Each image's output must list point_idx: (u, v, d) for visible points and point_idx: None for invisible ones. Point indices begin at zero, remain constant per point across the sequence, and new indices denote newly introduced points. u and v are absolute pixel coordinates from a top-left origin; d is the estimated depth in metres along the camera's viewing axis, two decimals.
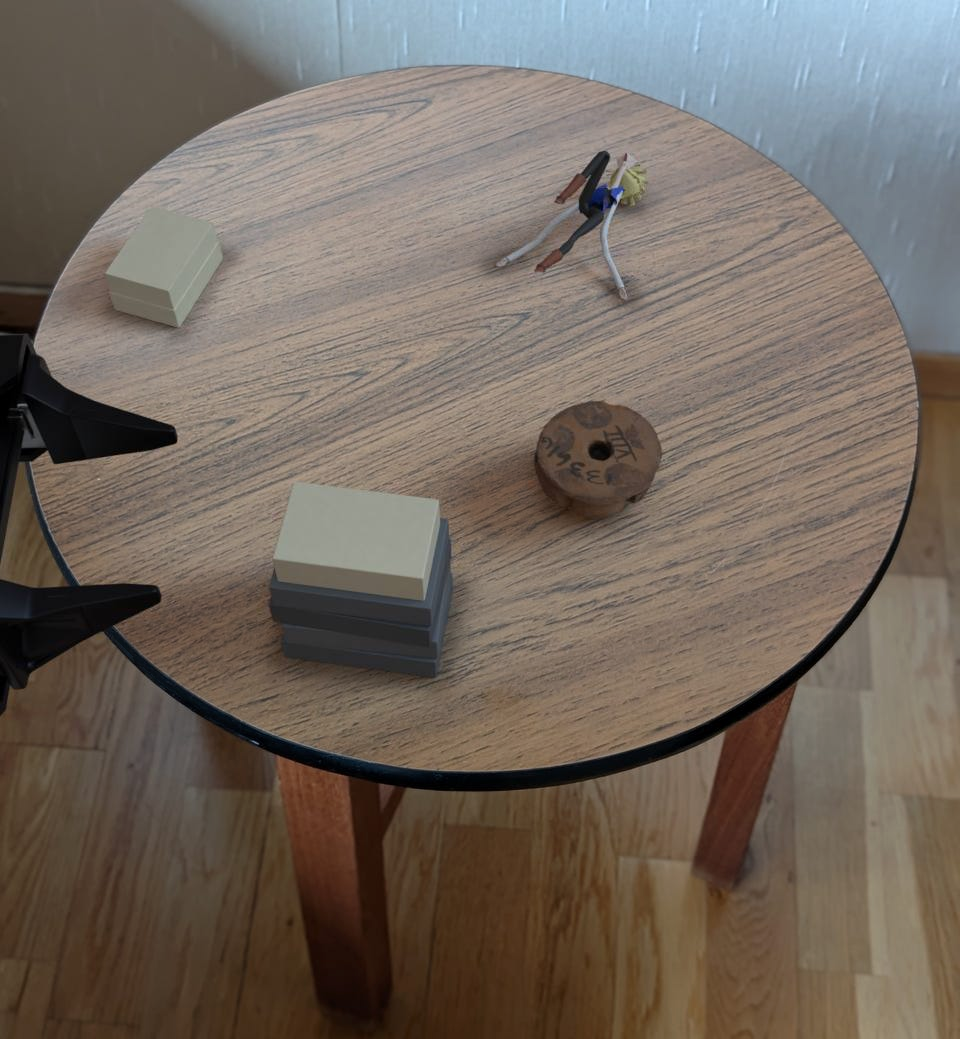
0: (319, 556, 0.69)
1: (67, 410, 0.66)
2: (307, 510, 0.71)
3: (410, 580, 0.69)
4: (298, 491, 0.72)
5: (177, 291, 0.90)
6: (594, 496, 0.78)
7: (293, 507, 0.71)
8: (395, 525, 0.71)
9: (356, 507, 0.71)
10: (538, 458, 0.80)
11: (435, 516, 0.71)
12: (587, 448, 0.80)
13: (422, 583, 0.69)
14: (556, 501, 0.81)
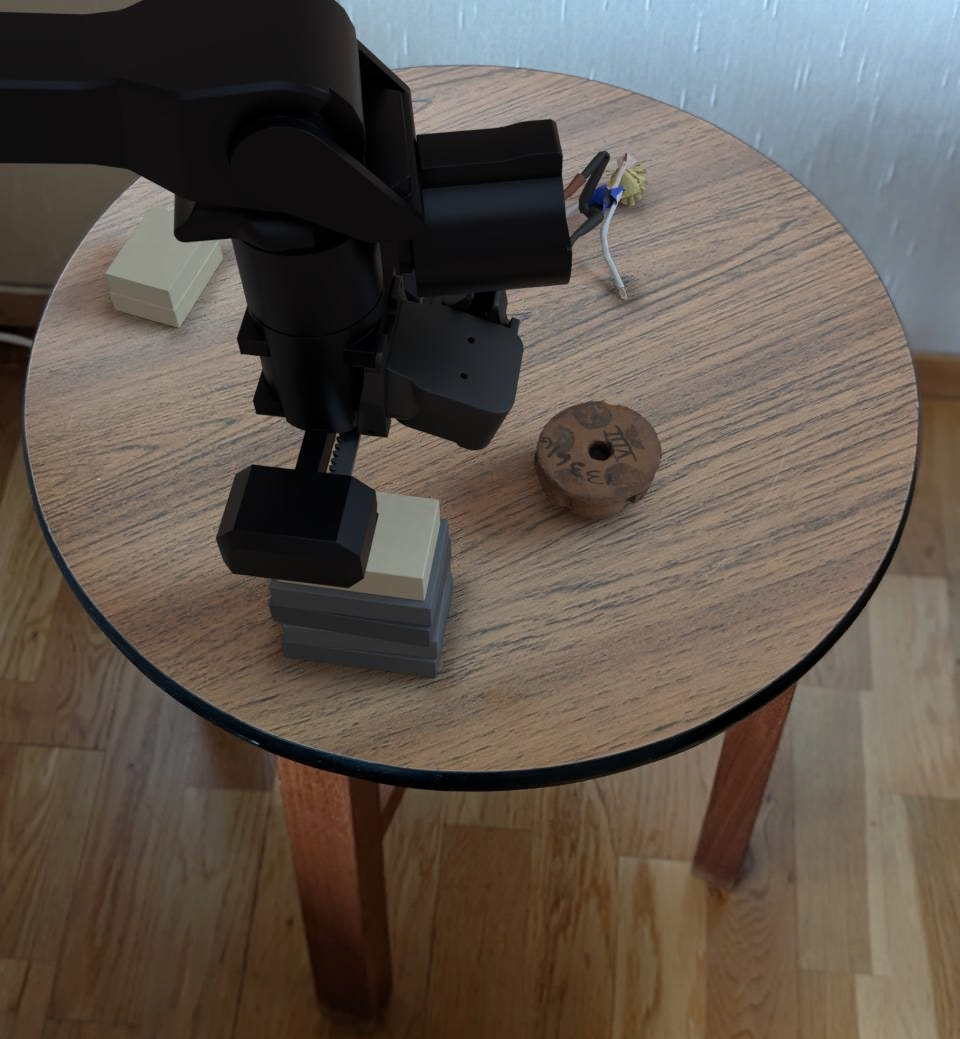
0: None
1: None
2: None
3: (410, 580, 0.69)
4: None
5: (177, 291, 0.90)
6: (594, 496, 0.78)
7: None
8: (395, 525, 0.71)
9: None
10: (538, 458, 0.80)
11: (435, 516, 0.71)
12: (587, 448, 0.80)
13: (422, 583, 0.69)
14: (556, 501, 0.81)
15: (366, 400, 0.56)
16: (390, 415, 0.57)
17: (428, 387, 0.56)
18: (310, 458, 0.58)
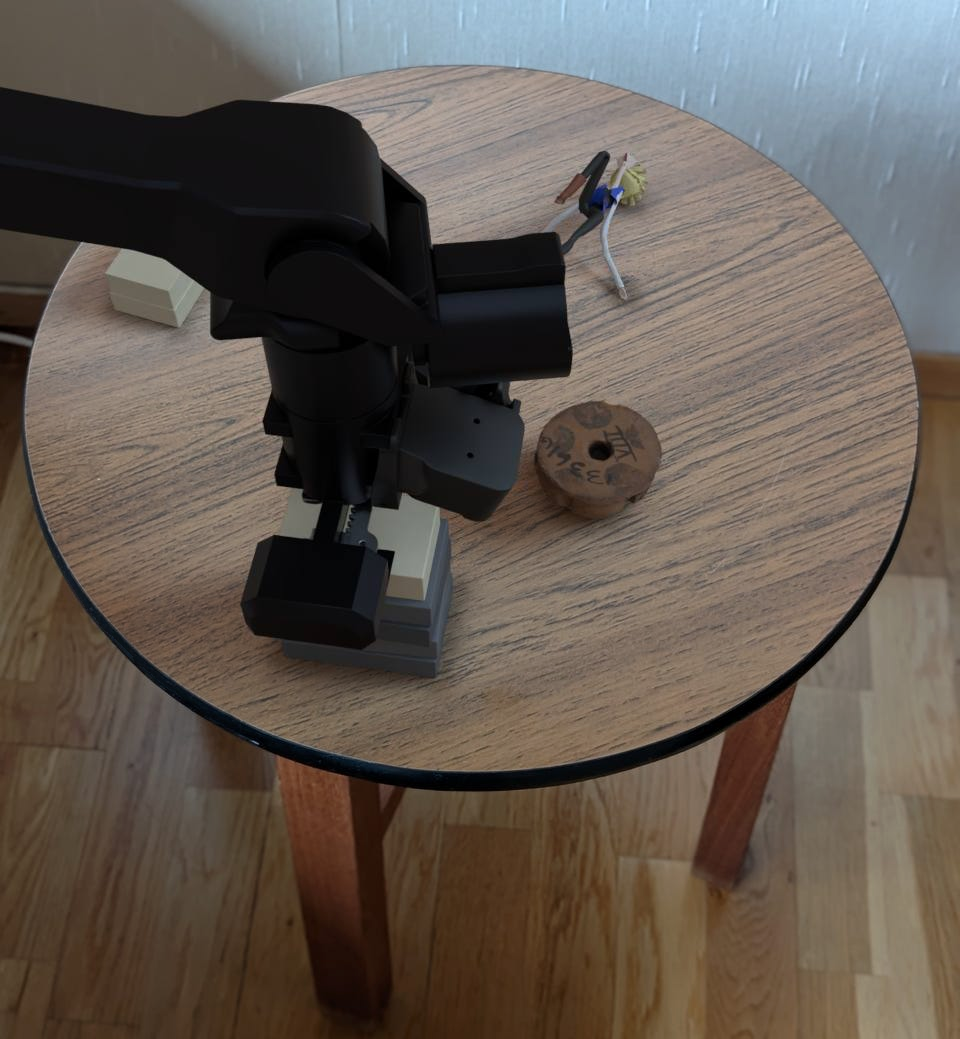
0: None
1: None
2: (307, 510, 0.71)
3: (410, 580, 0.69)
4: (298, 491, 0.72)
5: (177, 291, 0.90)
6: (594, 496, 0.78)
7: (293, 507, 0.71)
8: (395, 525, 0.71)
9: None
10: (538, 458, 0.80)
11: (435, 516, 0.71)
12: (587, 448, 0.80)
13: (422, 583, 0.69)
14: (556, 501, 0.81)
15: (380, 477, 0.61)
16: (402, 490, 0.62)
17: (437, 466, 0.61)
18: (327, 528, 0.62)
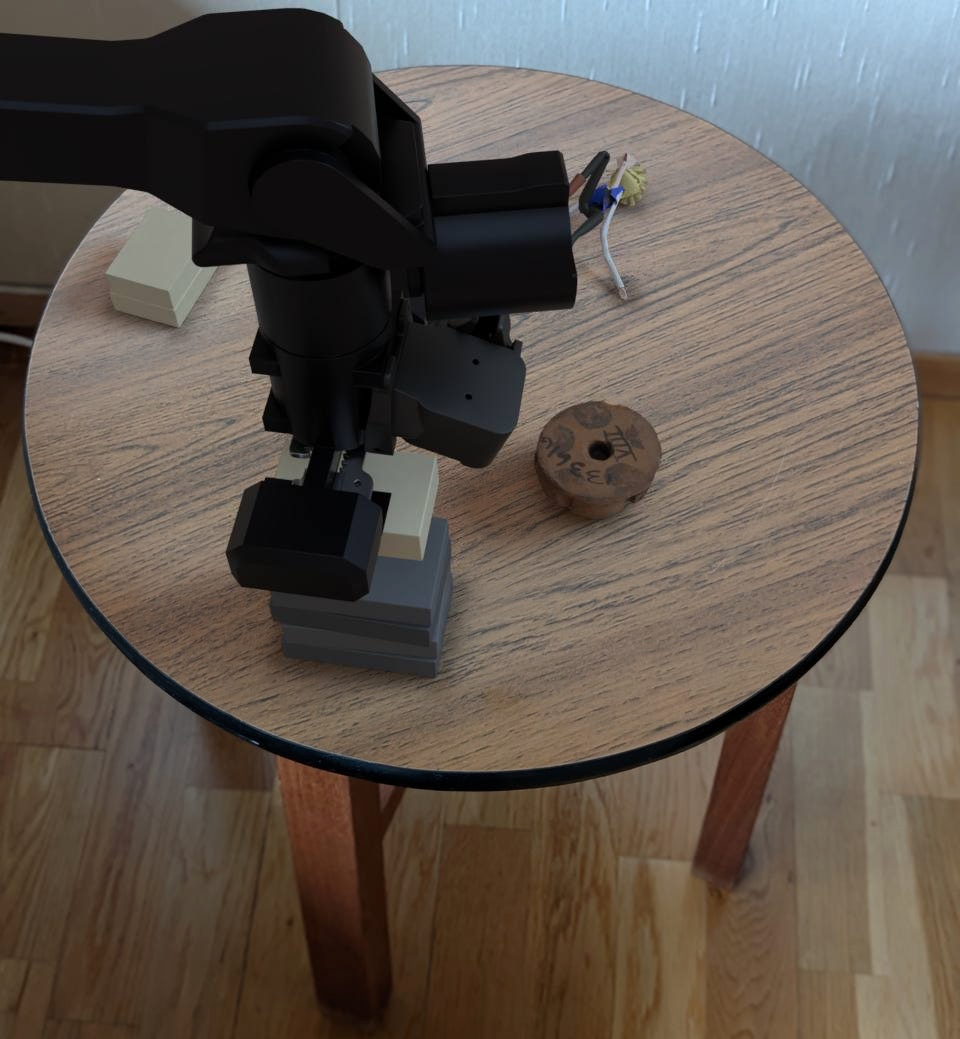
0: None
1: None
2: (299, 468, 0.68)
3: (407, 538, 0.66)
4: None
5: (177, 291, 0.90)
6: (594, 496, 0.78)
7: (285, 465, 0.68)
8: (391, 481, 0.68)
9: None
10: (538, 458, 0.80)
11: (432, 472, 0.68)
12: (587, 448, 0.80)
13: (419, 541, 0.66)
14: (556, 501, 0.81)
15: (374, 419, 0.58)
16: (396, 434, 0.58)
17: (434, 407, 0.57)
18: (317, 475, 0.59)
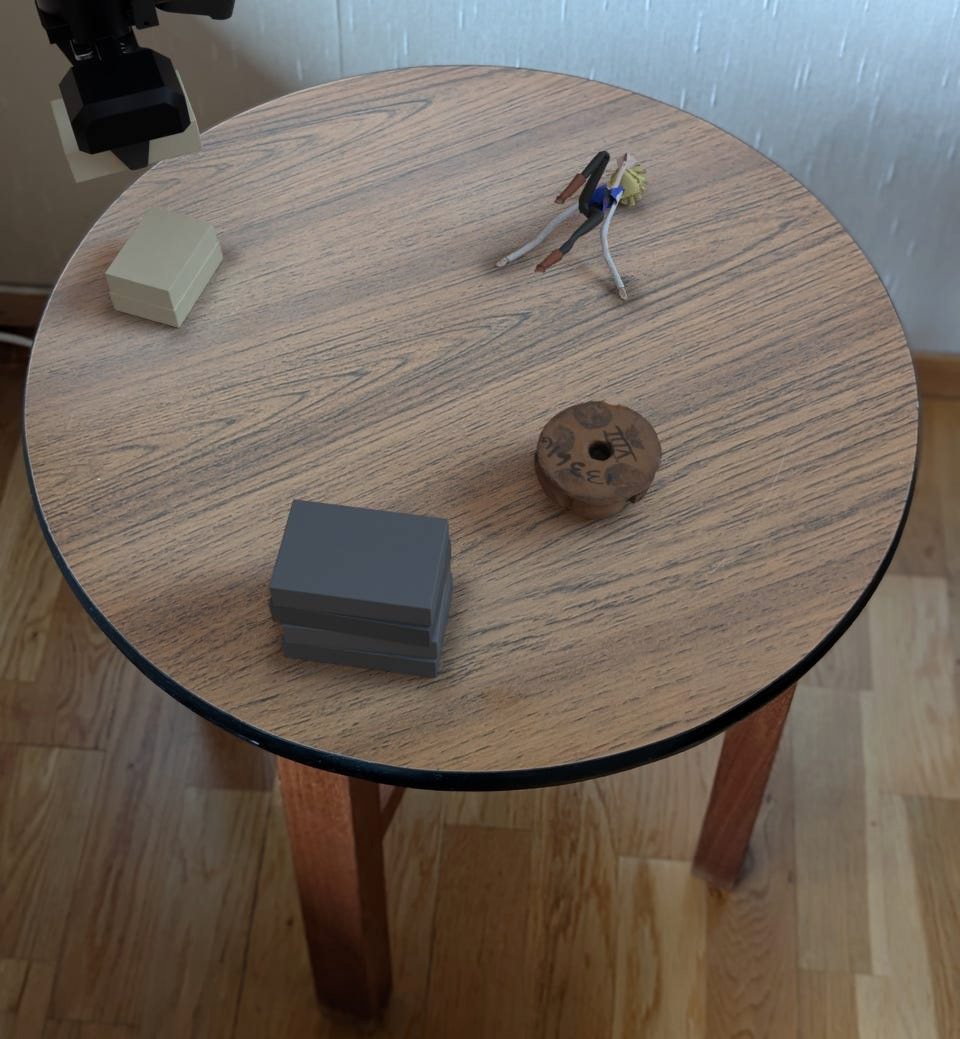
0: None
1: None
2: None
3: None
4: (58, 105, 0.81)
5: (177, 291, 0.90)
6: (594, 496, 0.78)
7: (61, 116, 0.81)
8: None
9: None
10: (538, 458, 0.80)
11: (180, 80, 0.83)
12: (587, 448, 0.80)
13: (197, 126, 0.81)
14: (556, 501, 0.81)
15: None
16: None
17: None
18: (110, 54, 0.73)
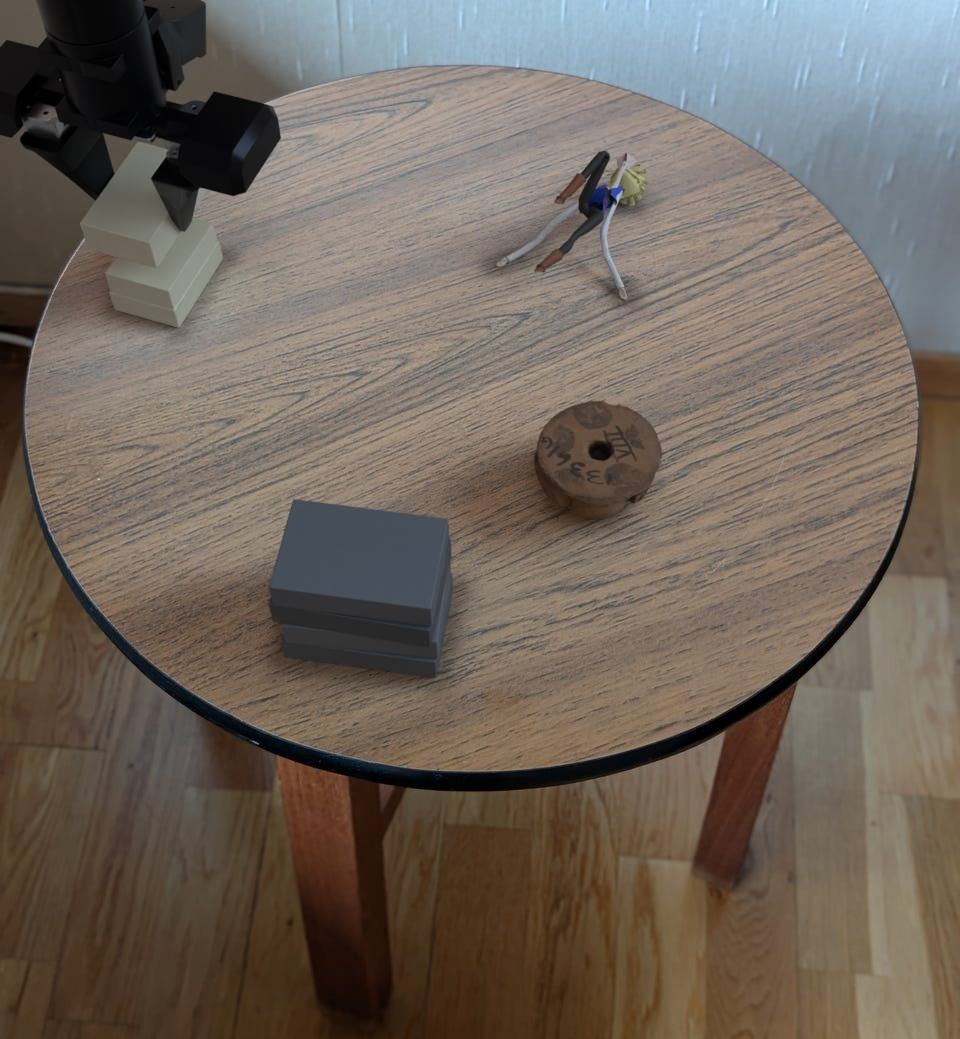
0: (160, 214, 0.85)
1: None
2: (112, 217, 0.85)
3: None
4: (91, 221, 0.85)
5: (177, 291, 0.90)
6: (594, 496, 0.78)
7: (105, 226, 0.85)
8: (150, 167, 0.88)
9: (123, 188, 0.87)
10: (538, 458, 0.80)
11: (151, 146, 0.89)
12: (587, 448, 0.80)
13: None
14: (556, 501, 0.81)
15: (171, 52, 0.79)
16: (180, 56, 0.80)
17: (179, 17, 0.80)
18: (184, 117, 0.80)
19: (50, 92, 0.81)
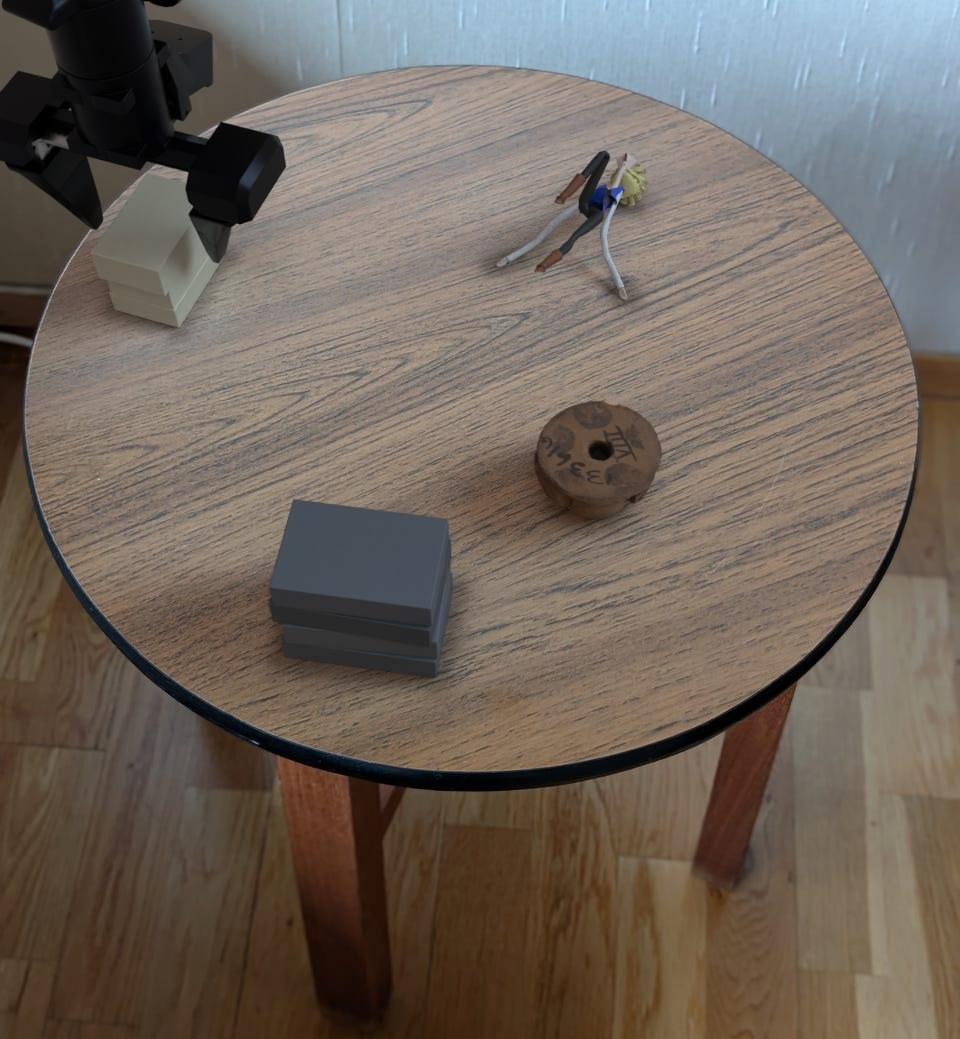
0: (168, 244, 0.88)
1: None
2: (122, 246, 0.88)
3: None
4: (101, 250, 0.87)
5: (177, 291, 0.90)
6: (594, 496, 0.78)
7: (115, 255, 0.87)
8: (159, 199, 0.90)
9: (132, 219, 0.89)
10: (538, 458, 0.80)
11: (160, 177, 0.91)
12: (587, 448, 0.80)
13: None
14: (556, 501, 0.81)
15: (179, 84, 0.81)
16: (187, 87, 0.82)
17: (186, 49, 0.82)
18: (192, 147, 0.82)
19: (61, 122, 0.83)
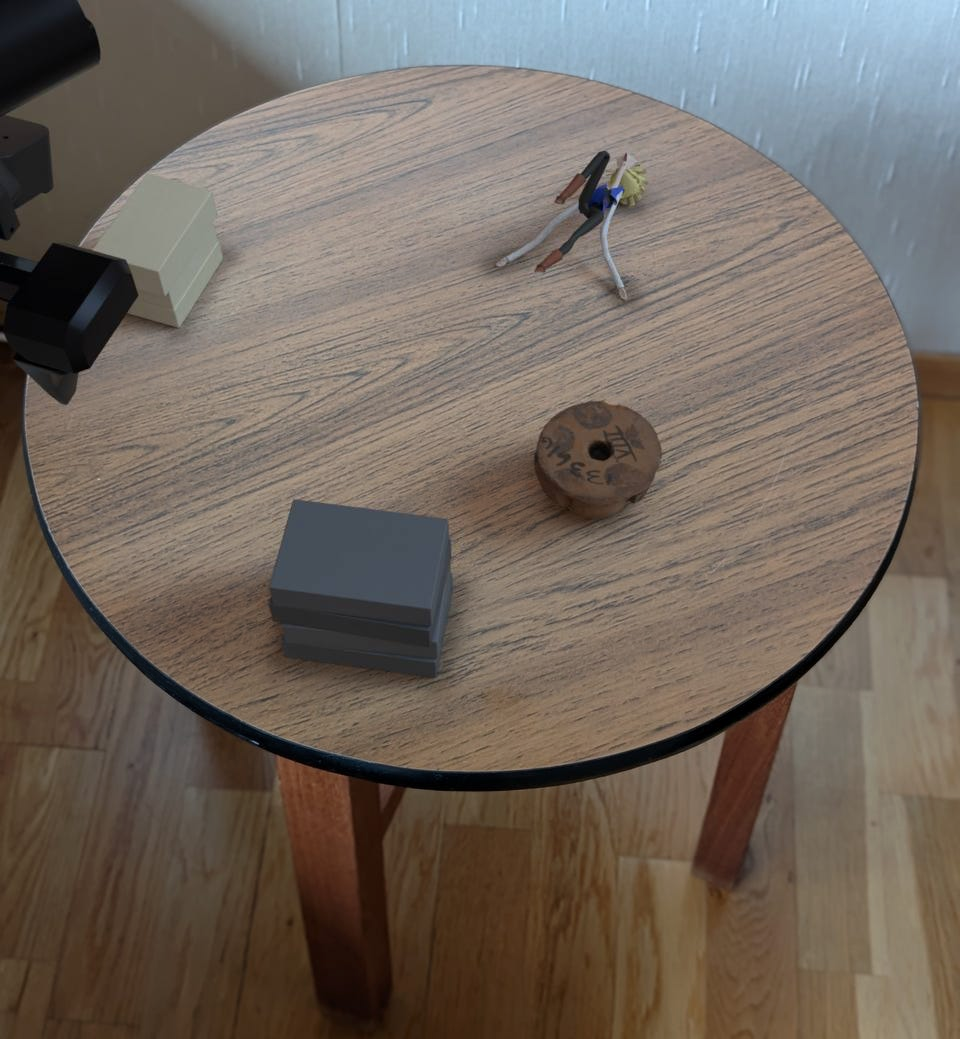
0: (168, 244, 0.88)
1: None
2: (122, 246, 0.88)
3: (209, 200, 0.90)
4: (101, 250, 0.87)
5: (177, 291, 0.90)
6: (594, 496, 0.78)
7: (115, 255, 0.87)
8: (159, 199, 0.90)
9: (132, 219, 0.89)
10: (538, 458, 0.80)
11: (160, 177, 0.91)
12: (587, 448, 0.80)
13: (213, 196, 0.91)
14: (556, 501, 0.81)
15: None
16: (12, 199, 0.66)
17: (10, 152, 0.66)
18: (15, 275, 0.65)
19: None
